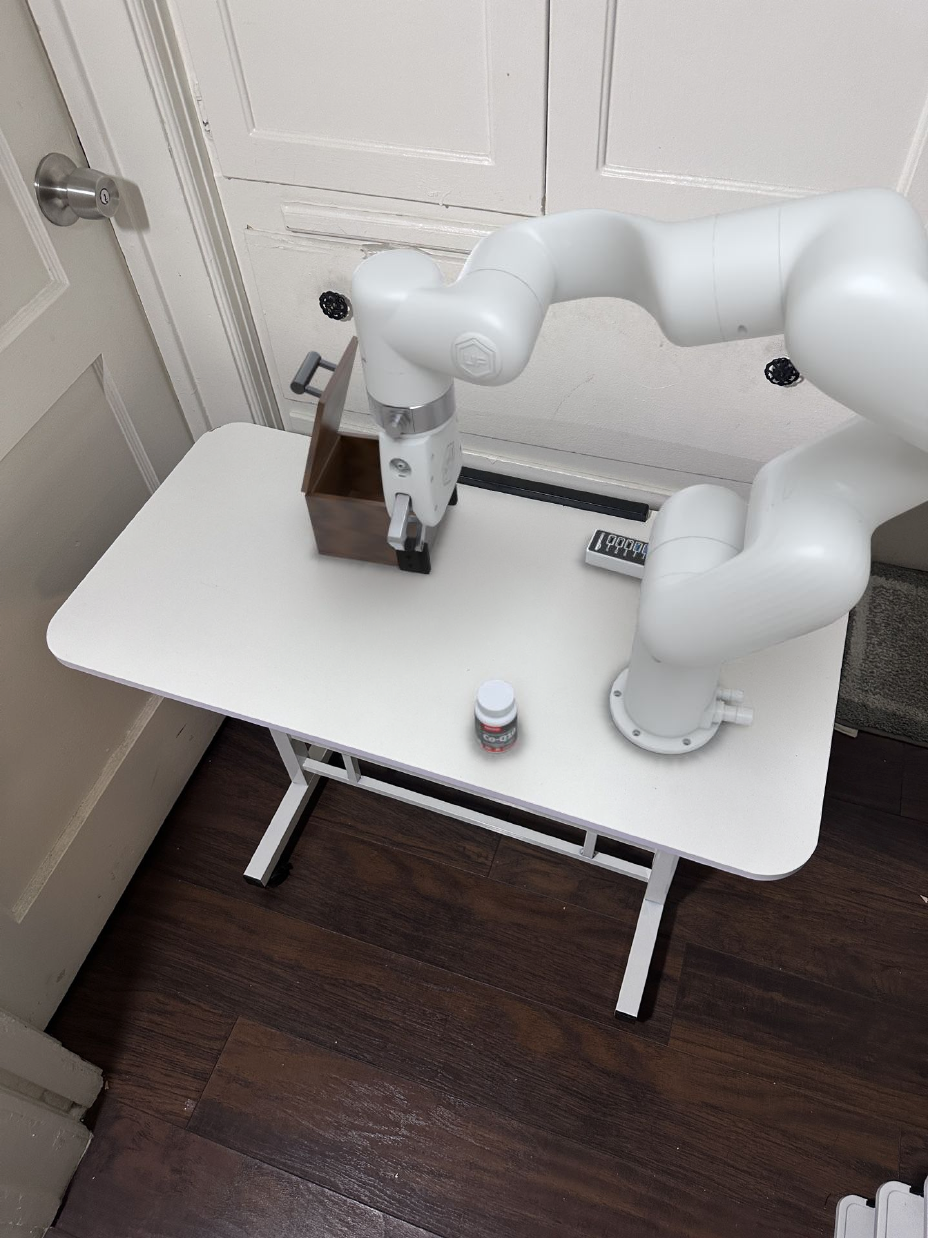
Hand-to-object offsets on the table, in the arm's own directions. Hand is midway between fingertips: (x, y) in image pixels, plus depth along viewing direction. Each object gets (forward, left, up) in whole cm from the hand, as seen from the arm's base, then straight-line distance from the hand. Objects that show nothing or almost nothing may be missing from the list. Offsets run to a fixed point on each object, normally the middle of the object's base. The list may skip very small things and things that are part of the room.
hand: (429, 535), depth 93 cm
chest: (+14, -20, -23) cm, 33 cm away
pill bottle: (-8, +8, -23) cm, 26 cm away
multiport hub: (-21, -21, -23) cm, 37 cm away
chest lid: (+18, -20, -4) cm, 28 cm away
